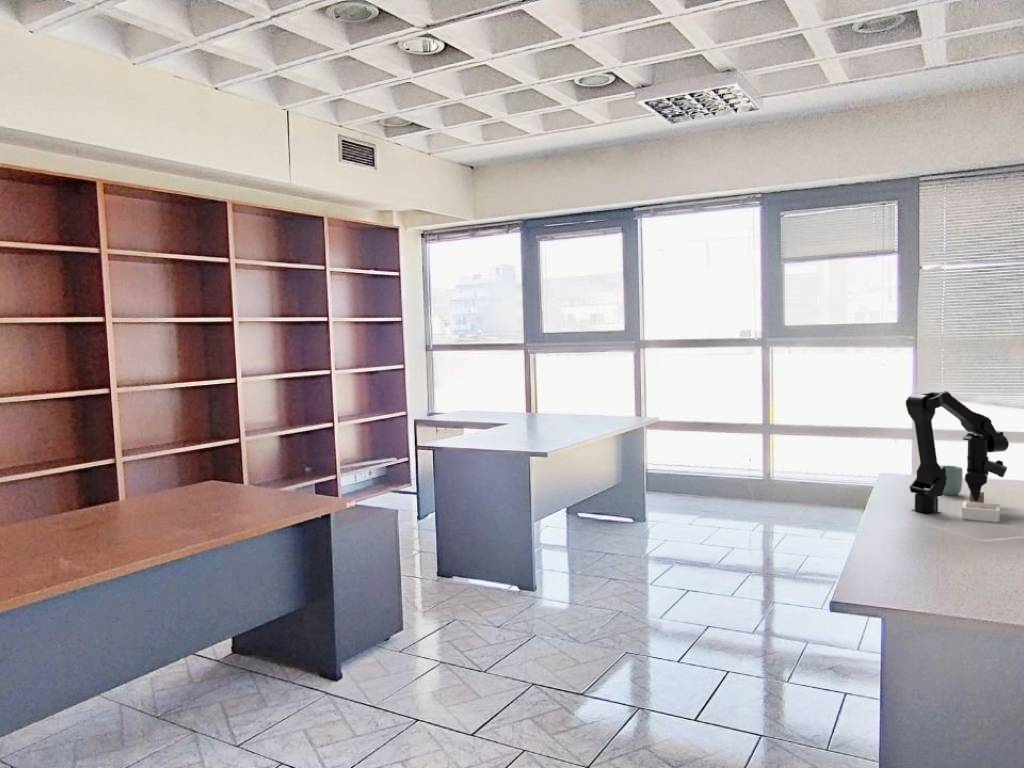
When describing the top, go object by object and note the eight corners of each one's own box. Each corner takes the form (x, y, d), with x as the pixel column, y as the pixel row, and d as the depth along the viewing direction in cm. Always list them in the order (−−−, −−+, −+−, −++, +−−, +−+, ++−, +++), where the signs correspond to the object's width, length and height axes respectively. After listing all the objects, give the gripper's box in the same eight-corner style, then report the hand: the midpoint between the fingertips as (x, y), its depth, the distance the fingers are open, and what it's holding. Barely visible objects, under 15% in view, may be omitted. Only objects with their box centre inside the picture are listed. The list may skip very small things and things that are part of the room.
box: (998, 523, 243) (999, 510, 243) (961, 519, 249) (962, 507, 248) (999, 516, 251) (999, 504, 251) (963, 513, 257) (963, 501, 257)
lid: (993, 514, 258) (994, 497, 257) (958, 511, 263) (959, 494, 263) (994, 508, 266) (994, 491, 266) (960, 505, 271) (960, 489, 271)
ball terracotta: (981, 516, 250) (981, 507, 250) (973, 514, 253) (973, 505, 252) (988, 516, 251) (989, 506, 250) (980, 514, 253) (981, 505, 253)
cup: (955, 492, 290) (956, 465, 289) (966, 496, 282) (966, 469, 281) (933, 492, 290) (934, 465, 290) (943, 496, 283) (943, 469, 282)
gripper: (1005, 458, 251) (1004, 506, 252) (1006, 451, 267) (1005, 496, 268) (965, 456, 257) (964, 503, 258) (968, 448, 273) (967, 493, 274)
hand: (976, 499), depth 264 cm, fingers open, 6 cm apart
